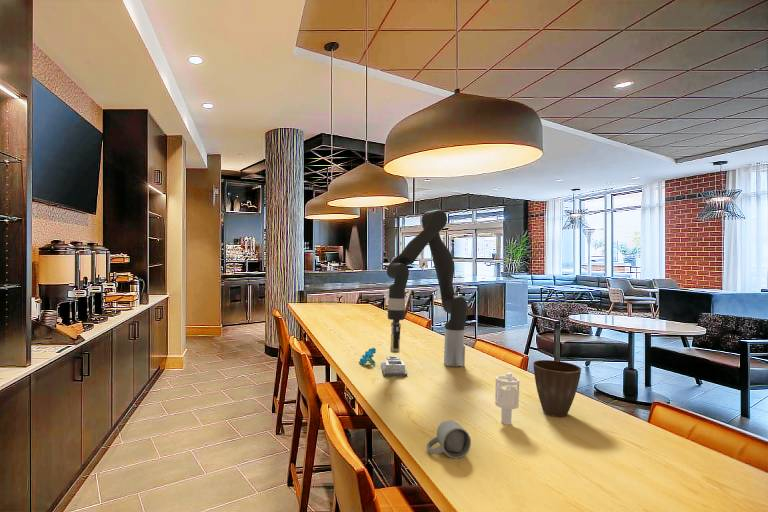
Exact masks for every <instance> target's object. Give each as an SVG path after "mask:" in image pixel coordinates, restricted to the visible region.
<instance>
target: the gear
mask: <svg viewBox="0 0 768 512" xmlns="http://www.w3.org/2000/svg"><path fill="white" fill-rule="evenodd" d="M376 350H377V348H376V347H371V348H370V347H369V349H368V350H366V351H364V353H365V354H362V355H361V357H360V359H359V364H360V365H362V366H363V365H366V364H367V362H368V363H369V364H372V366H374V367H375V366H376V361H375V360H374V359H373V357H374V355H375V354H376V352H377V351H376Z"/></svg>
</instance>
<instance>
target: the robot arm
mask: <svg viewBox="0 0 768 512" xmlns="http://www.w3.org/2000/svg"><path fill="white" fill-rule="evenodd" d="M447 223H448V216H447V213H446V212H445V211H444V210H442V209H435V210H429V211H425V212H424V213H423V214H422V215H421V225H422V229H423V230H422V231H420V233H418V234H417V235H416V236H415V237H413V238H412V239H411V240H410V241H409V242H408V243H407V245H406V246H405V247H404V249H403V250H402V251H401V252H400V253H399V255H397V256H396V257H395V258H394V259H393V260H391V261H390V263H389V264H388V265H387V268H386V274H387V276H388V277H389V278H391V279H393V280H394V282H393V284H391V285H389V288H388V300H387V319H388V320H389V321H392V322H391V323H390V327H391V330H390V331H391V333H392V334H393V348H394V349H398V342H399V339H400V340H401V327H402V326H401V325H402V323H400V321H404V320H405V318H406V317H405V316H406V298H405V297H406V287H407V283H408V280H409V275H410V271H409V270H410V269H409V267H408V266H409V265H412V264H414V262H415V261H416V260H417V259H418V258H419V256H420V254H421V253H422V252H423V250H424V249H425V248H426V247H427V245H428V246H429V250H430V255H431V257H432V261H433V266H434V270H435V274H436V277H437V282H438V285H439V289H440V291H439V292H440V299H441V305H442V309H443V310H444V312H446V313H447V314H449V315H450V316H449V317H450V318H449V320H447V321H446V322H445V323H444V344H443V345H444V347H443V348H444V349H443V350H444V353H443V365H444V364H445V365H444V366H446V365H448V366H447V367H450V366H454V367H453V368H458V367H457V366H461V367H465V365H466V364H465V361H466V357H465V356H466V346H465V325H467V317H468V303H467V300H466V299H465V298H464V297H463V296H461V295H456V293H455V290H454V285H453V284H454V283H453V281H454V277H455V276H454V275H455V270H456V269H455V264H454V259H453V255H452V254H451V251H450V250H449V248H448V246H446V245H445V243H444V241H443V240H442V238H441V236H440V232H441V231H442V230H443V229H444V228H445V227H446V225H447ZM395 335H398V337H395ZM455 366H456V367H455Z"/></svg>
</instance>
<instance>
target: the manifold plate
mask: <svg viewBox="0 0 768 512" xmlns="http://www.w3.org/2000/svg"><path fill="white" fill-rule="evenodd" d="M380 367H381V369H382V374H383V377H393V376H407V377H408V373H407V370H406V364H405V362H404V360H402V359H401V360H400V357H399V356H398V355H397V356H396V355H393V356H392V355H386V359H385V360H384V362H381V363H380Z"/></svg>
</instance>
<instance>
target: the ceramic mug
mask: <svg viewBox="0 0 768 512" xmlns="http://www.w3.org/2000/svg"><path fill="white" fill-rule="evenodd" d="M437 444H439V445H440V446H436V447H433V446H435V445H437ZM471 445H472V441H471V436H470V434H469V432H468V431H467V430H466V429H465V428H464V427H462V425H461V424H460V423H458V422H457V421H454V420H451V419H447V420H443V421H442V422H441V423H440V424H439V425H438V426H437V429H436V436H435V437H433V438H432V439H430V440H429V441H427V444H426V449H427V452H428V453H429V454H430V455H437V454H441V453H444V454H445V455H446V456H447V457H449V458H452V459H461V458H463V457H465V456H466V455H467V454H468V453H469V451H470V449H471ZM432 447H433V448H432Z"/></svg>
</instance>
